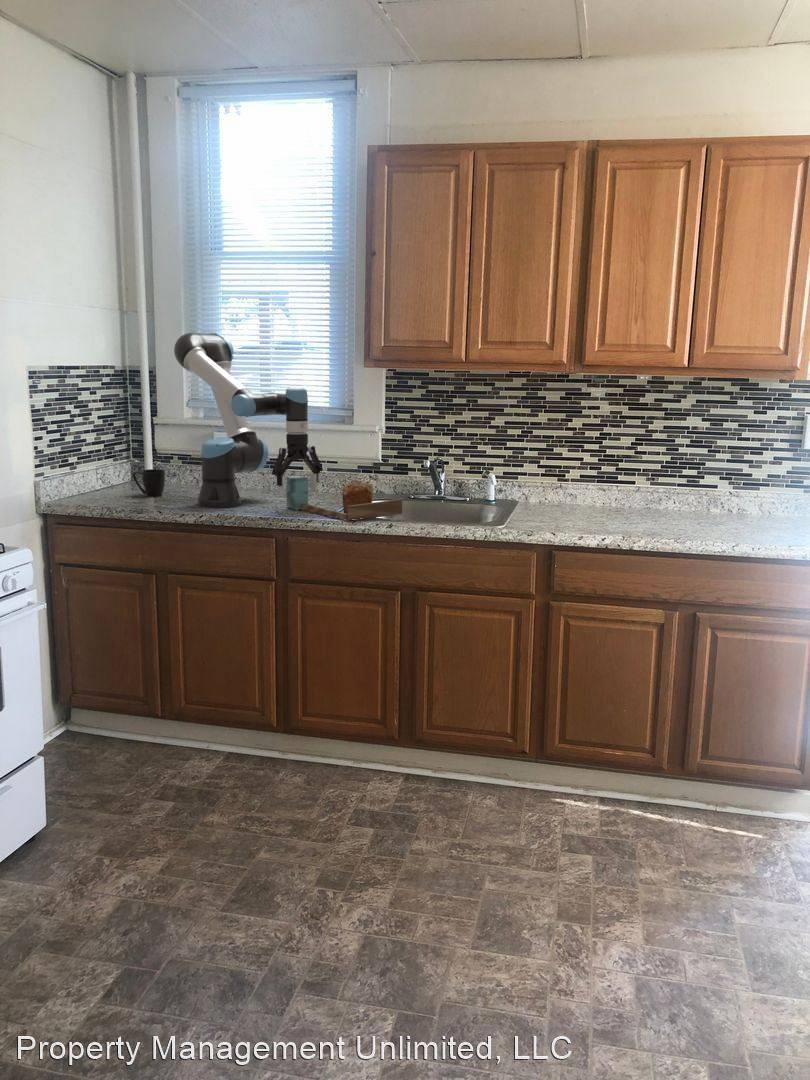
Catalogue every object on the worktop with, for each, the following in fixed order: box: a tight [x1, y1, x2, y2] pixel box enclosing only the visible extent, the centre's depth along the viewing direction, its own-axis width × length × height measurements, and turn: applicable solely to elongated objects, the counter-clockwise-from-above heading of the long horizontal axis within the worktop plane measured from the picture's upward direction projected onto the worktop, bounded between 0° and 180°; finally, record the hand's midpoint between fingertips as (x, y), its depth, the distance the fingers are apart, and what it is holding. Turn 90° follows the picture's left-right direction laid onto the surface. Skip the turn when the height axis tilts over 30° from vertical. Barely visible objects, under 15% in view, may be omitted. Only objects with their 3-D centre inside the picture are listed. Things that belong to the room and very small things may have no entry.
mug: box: [132, 468, 166, 498], centre depth 345 cm, size 8×12×10 cm
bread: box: [342, 481, 374, 514], centre depth 323 cm, size 19×11×10 cm, turn 1°
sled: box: [286, 475, 403, 521], centre depth 320 cm, size 33×26×11 cm
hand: (297, 493), depth 323 cm, fingers open, 13 cm apart
